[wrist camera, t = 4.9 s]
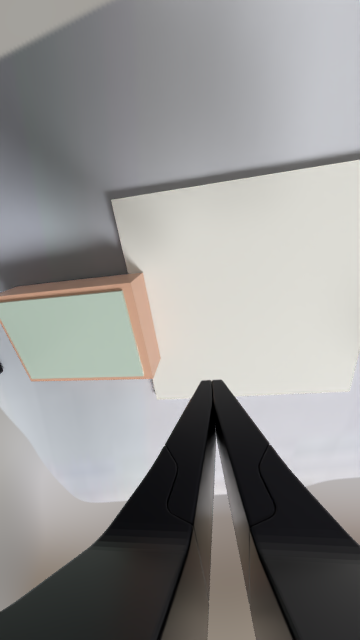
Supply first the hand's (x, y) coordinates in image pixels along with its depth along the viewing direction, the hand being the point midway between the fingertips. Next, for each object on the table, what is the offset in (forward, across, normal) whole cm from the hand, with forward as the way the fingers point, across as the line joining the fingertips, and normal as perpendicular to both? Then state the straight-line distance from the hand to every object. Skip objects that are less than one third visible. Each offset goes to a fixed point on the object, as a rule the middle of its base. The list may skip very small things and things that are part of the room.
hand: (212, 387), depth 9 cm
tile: (+6, +4, 0) cm, 8 cm away
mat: (+8, -3, 0) cm, 9 cm away
